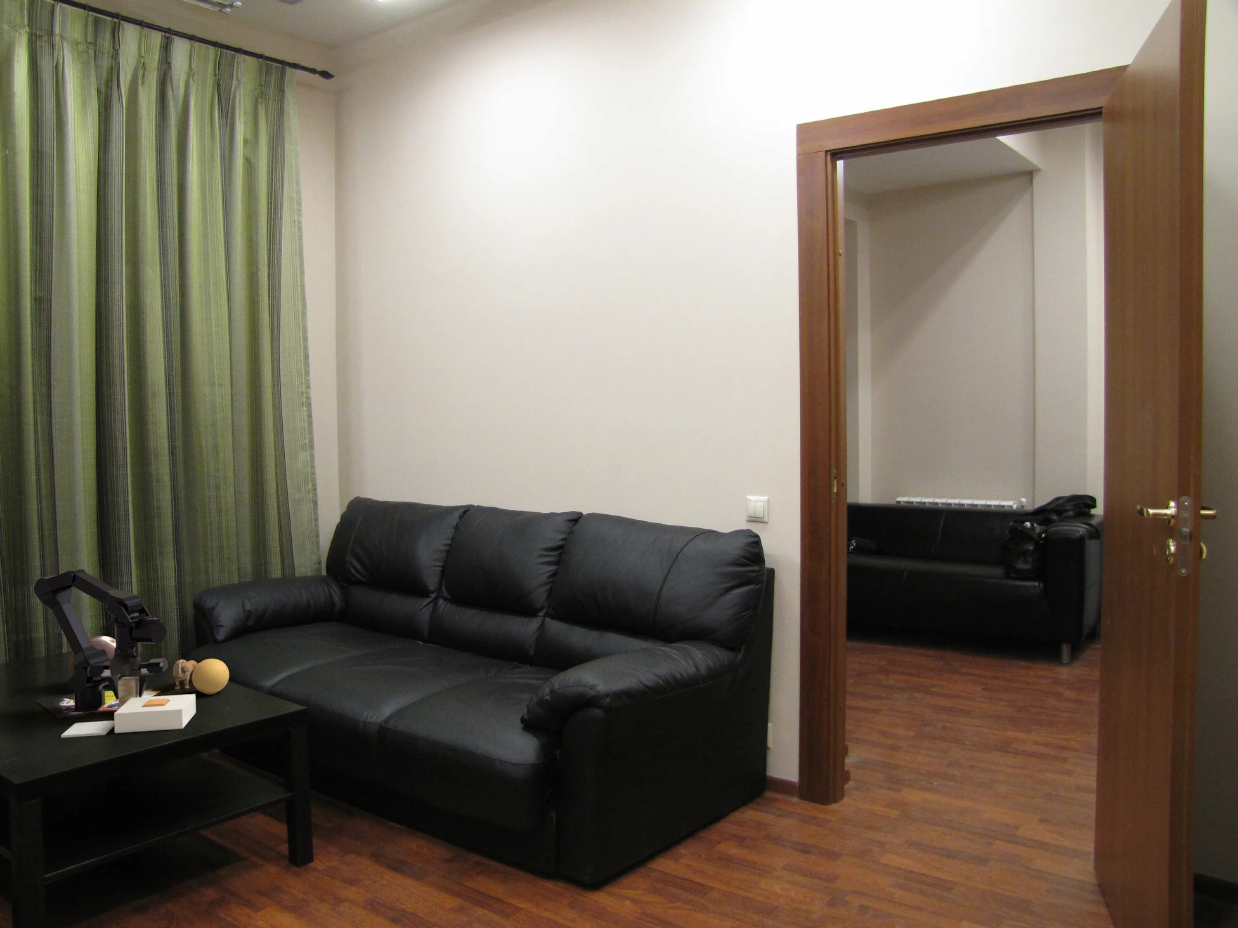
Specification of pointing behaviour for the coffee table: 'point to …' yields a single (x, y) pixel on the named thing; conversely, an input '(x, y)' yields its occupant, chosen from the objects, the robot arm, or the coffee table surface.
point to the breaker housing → (155, 714)
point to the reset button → (156, 702)
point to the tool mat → (89, 729)
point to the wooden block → (128, 689)
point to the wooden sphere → (99, 644)
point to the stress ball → (210, 676)
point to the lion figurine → (183, 671)
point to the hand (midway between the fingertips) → (129, 698)
